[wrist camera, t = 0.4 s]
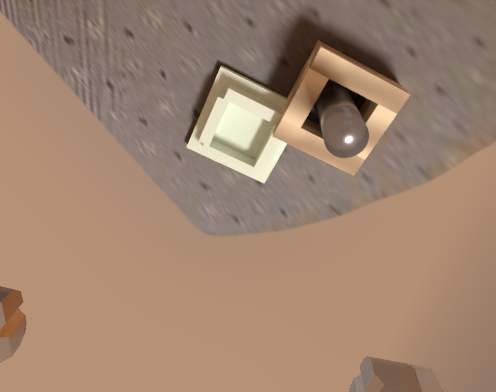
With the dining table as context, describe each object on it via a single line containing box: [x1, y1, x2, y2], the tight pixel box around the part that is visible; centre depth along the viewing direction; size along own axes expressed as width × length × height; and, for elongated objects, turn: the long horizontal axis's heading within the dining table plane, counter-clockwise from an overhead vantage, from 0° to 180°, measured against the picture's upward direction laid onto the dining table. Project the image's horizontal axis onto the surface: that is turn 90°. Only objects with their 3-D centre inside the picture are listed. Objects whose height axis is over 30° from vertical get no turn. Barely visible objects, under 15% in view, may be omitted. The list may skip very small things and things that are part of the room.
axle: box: [316, 87, 369, 158], centre depth 45 cm, size 4×4×12 cm
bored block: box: [273, 41, 410, 176], centre depth 48 cm, size 12×12×5 cm
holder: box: [187, 65, 287, 183], centre depth 51 cm, size 12×12×4 cm
